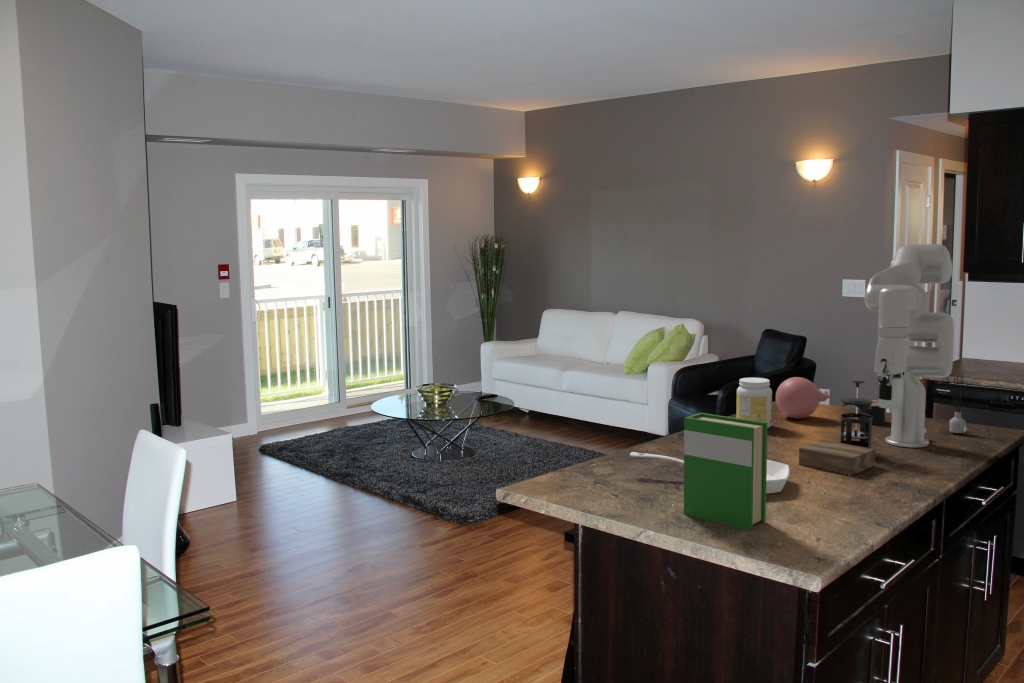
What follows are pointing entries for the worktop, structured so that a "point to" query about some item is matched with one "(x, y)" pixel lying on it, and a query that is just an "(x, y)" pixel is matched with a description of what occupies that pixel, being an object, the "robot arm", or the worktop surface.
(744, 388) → the supplement tub
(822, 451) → the brown wooden block
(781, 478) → the pan
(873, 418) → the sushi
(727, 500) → the hardback book
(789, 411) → the balloon
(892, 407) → the white rounded capsule
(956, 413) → the reed diffuser
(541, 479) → the worktop surface
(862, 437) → the french press
